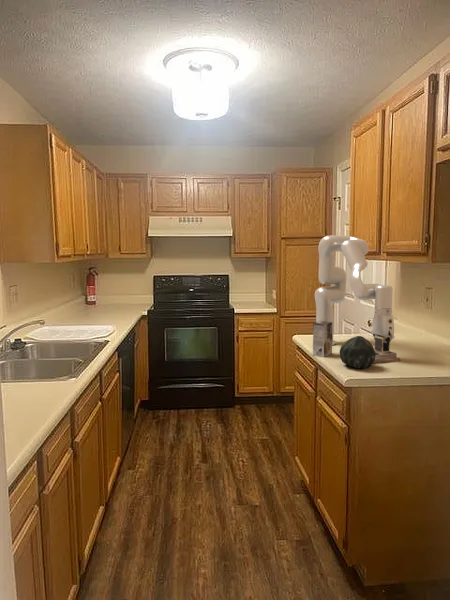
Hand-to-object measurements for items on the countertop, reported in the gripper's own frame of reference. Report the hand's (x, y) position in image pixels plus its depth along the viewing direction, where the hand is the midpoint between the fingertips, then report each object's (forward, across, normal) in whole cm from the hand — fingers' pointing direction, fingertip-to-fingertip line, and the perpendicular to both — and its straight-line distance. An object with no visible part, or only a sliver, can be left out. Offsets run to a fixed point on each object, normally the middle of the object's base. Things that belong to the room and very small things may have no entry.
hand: (381, 349), depth 202 cm
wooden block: (+2, 0, 0) cm, 2 cm away
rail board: (+5, 0, +3) cm, 5 cm away
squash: (+5, -7, +20) cm, 21 cm away
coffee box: (+5, +18, +21) cm, 28 cm away
